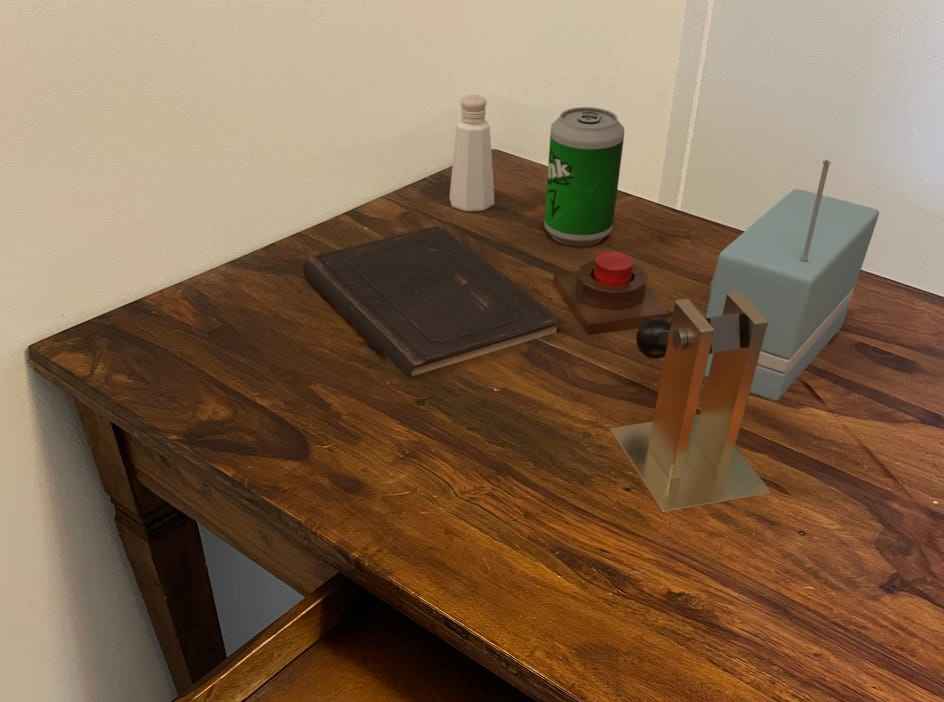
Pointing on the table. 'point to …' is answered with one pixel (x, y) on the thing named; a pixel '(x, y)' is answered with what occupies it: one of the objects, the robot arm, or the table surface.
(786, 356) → the radio
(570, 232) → the soda can
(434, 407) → the table surface
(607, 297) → the brown button base
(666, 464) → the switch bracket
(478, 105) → the pepper shaker
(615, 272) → the stop button
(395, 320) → the hardcover book
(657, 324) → the switch lever
